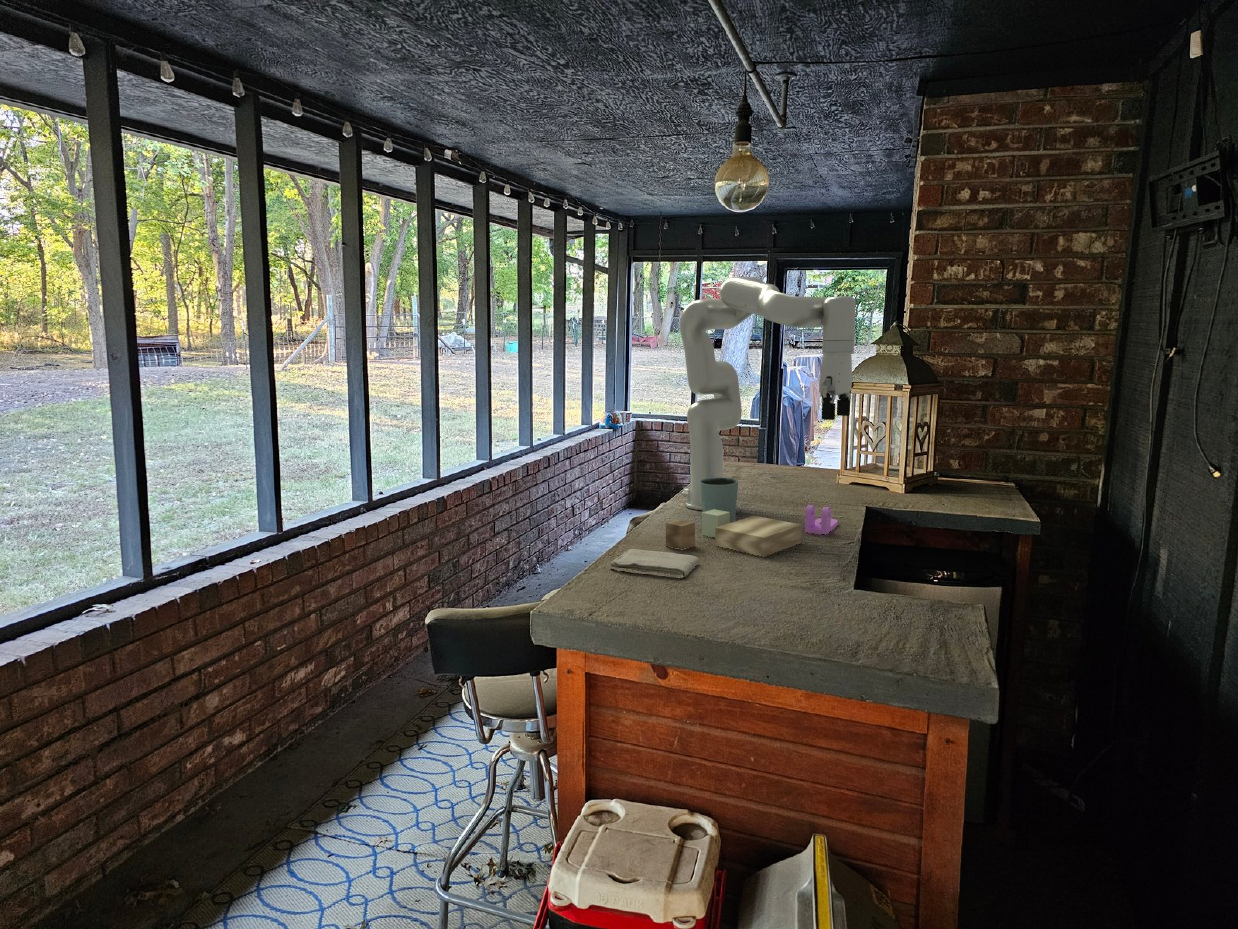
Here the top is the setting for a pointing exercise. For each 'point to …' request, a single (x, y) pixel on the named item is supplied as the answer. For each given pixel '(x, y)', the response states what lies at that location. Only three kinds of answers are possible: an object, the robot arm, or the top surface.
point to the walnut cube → (680, 534)
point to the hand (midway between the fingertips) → (835, 417)
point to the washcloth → (656, 562)
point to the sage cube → (713, 521)
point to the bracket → (819, 521)
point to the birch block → (758, 535)
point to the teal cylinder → (719, 495)
